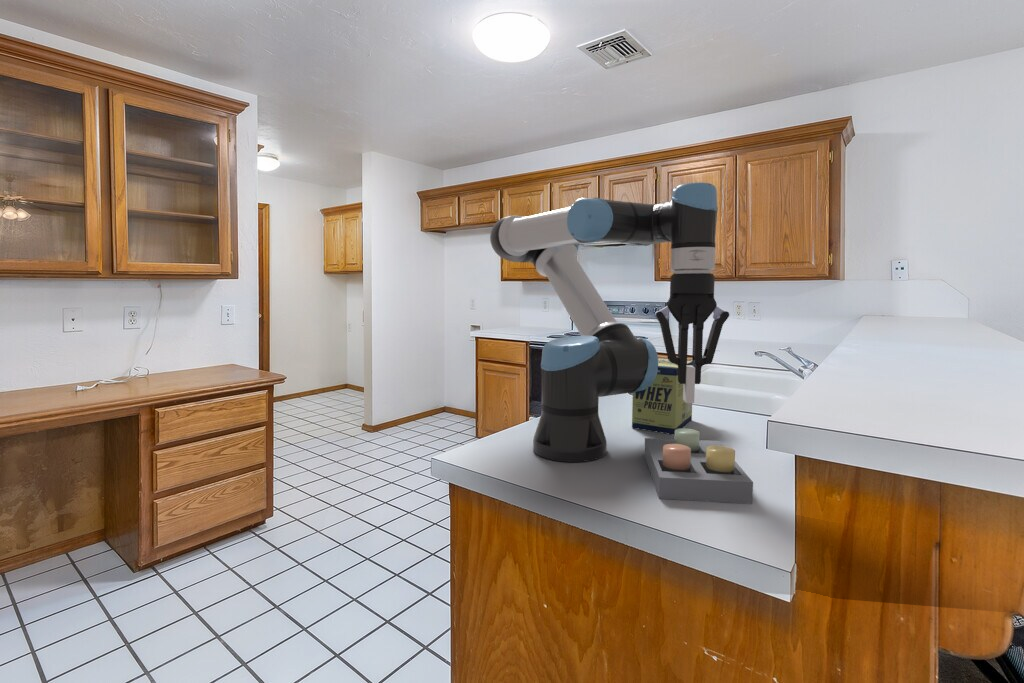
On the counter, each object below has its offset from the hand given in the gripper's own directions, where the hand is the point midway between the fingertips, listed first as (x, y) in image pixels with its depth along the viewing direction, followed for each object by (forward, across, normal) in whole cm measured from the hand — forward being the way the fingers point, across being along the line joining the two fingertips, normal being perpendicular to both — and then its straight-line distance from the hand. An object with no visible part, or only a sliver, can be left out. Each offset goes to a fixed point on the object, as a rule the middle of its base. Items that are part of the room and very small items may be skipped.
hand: (688, 401), depth 92 cm
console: (+13, 0, -5) cm, 14 cm away
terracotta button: (+9, -4, -10) cm, 14 cm away
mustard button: (+9, +3, -10) cm, 14 cm away
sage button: (+9, 0, 0) cm, 9 cm away
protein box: (+13, 0, +30) cm, 32 cm away
